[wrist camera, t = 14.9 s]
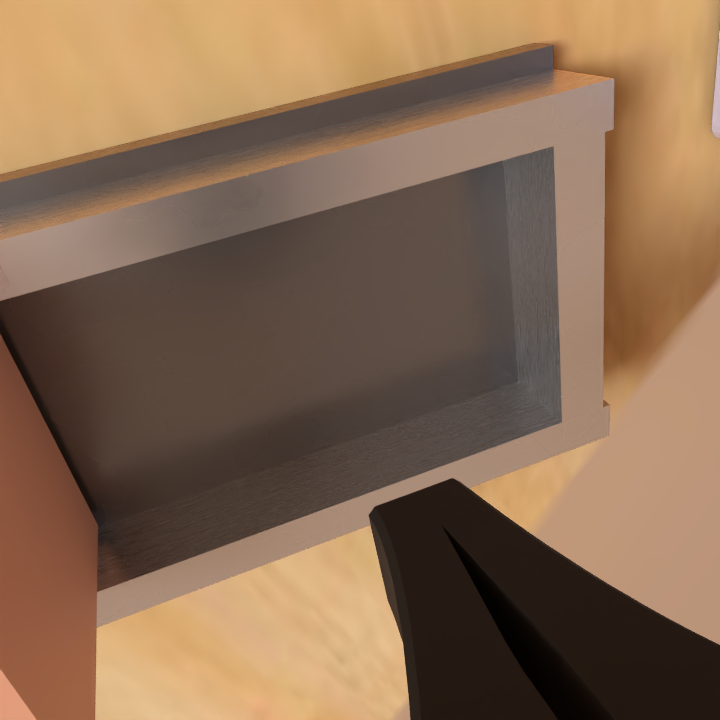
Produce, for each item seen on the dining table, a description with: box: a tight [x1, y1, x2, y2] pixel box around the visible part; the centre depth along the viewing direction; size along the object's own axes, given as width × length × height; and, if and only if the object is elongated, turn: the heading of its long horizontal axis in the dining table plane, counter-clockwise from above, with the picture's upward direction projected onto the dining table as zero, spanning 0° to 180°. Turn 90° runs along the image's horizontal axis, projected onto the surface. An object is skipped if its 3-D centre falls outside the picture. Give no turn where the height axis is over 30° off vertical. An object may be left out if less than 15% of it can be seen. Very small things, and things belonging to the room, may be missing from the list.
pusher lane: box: [0, 43, 614, 628], centre depth 14 cm, size 22×10×5 cm, turn 100°
